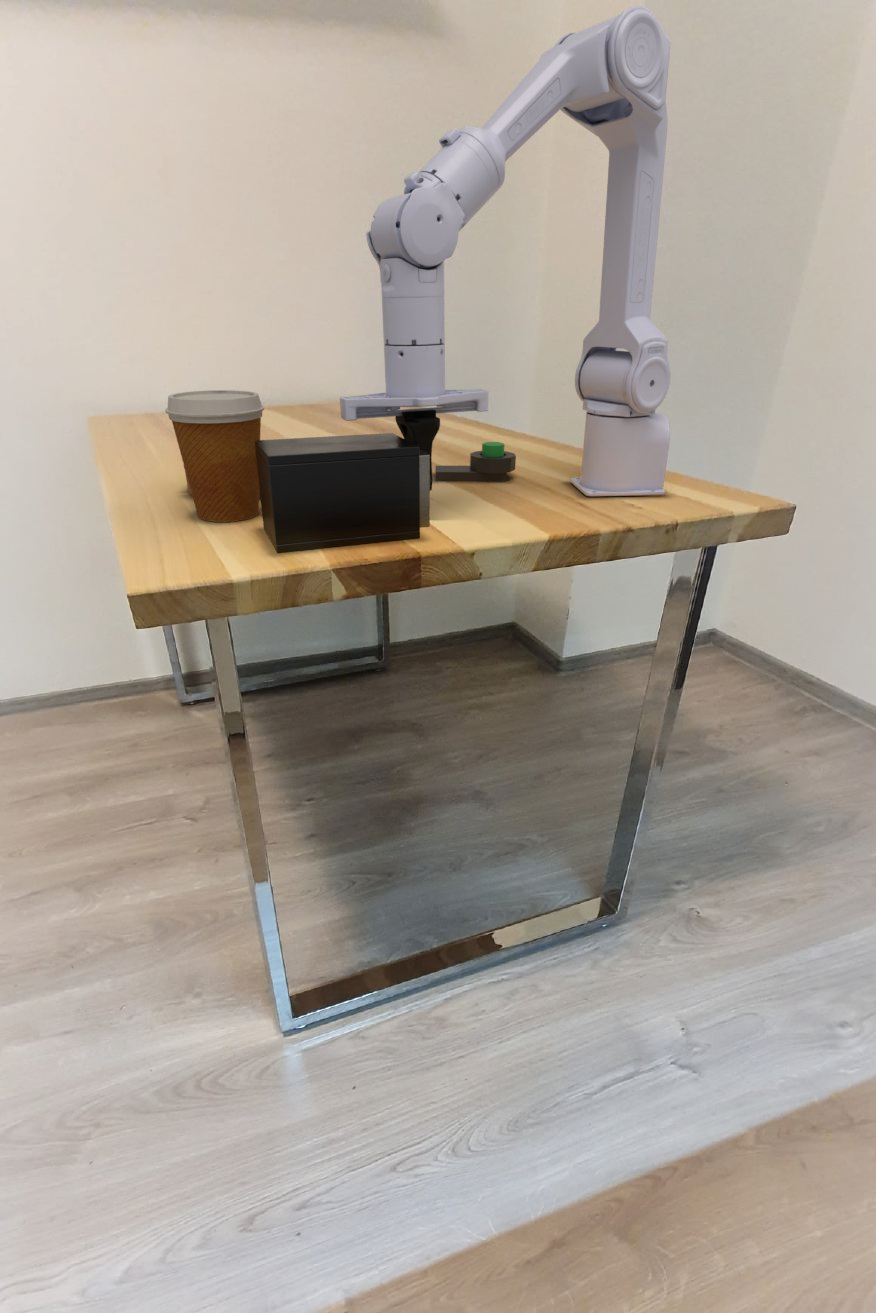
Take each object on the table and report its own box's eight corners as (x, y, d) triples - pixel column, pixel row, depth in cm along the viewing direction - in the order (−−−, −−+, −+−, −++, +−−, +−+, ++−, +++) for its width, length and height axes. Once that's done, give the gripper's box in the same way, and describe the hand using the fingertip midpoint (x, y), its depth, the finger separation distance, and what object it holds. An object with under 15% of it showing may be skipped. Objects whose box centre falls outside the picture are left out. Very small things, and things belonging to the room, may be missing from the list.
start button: (502, 455, 94) (503, 441, 93) (504, 460, 91) (505, 445, 90) (481, 455, 94) (481, 441, 93) (482, 460, 91) (482, 445, 90)
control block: (511, 473, 96) (513, 450, 95) (516, 483, 91) (517, 458, 90) (435, 473, 96) (435, 450, 95) (435, 483, 91) (435, 458, 90)
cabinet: (394, 517, 76) (392, 432, 72) (420, 539, 69) (419, 446, 66) (263, 529, 72) (254, 440, 68) (277, 553, 65) (267, 456, 61)
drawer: (418, 508, 76) (417, 441, 73) (441, 525, 70) (442, 454, 67) (287, 520, 72) (280, 449, 69) (300, 539, 66) (294, 463, 63)
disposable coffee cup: (191, 531, 71) (172, 402, 66) (174, 509, 79) (156, 392, 74) (285, 519, 75) (274, 397, 70) (261, 499, 83) (249, 388, 78)
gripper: (349, 349, 62) (359, 505, 68) (503, 343, 67) (499, 491, 73) (330, 345, 68) (341, 489, 74) (473, 340, 73) (471, 476, 79)
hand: (417, 489), depth 74 cm, fingers closed, pressing on drawer
